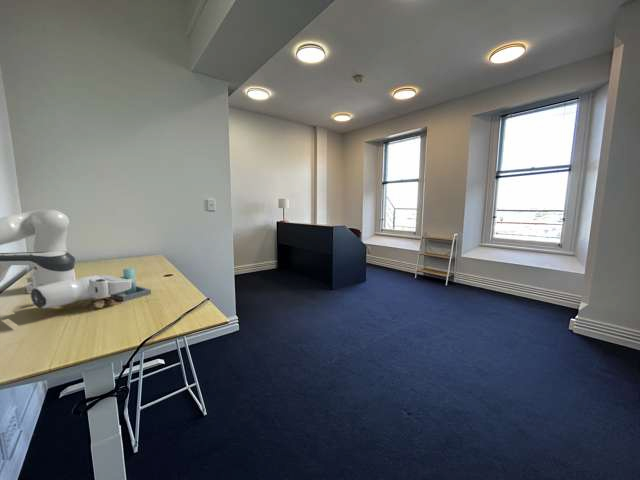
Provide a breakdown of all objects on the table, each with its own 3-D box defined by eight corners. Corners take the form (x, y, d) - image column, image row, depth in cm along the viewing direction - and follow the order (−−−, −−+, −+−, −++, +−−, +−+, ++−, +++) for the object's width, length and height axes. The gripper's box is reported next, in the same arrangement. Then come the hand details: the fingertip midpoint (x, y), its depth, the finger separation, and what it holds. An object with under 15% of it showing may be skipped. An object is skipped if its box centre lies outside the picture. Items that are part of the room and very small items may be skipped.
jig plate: (79, 306, 105) (79, 301, 104) (106, 299, 112) (105, 295, 112) (95, 313, 98) (95, 308, 98) (122, 305, 106) (122, 300, 106)
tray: (110, 299, 113) (110, 292, 112) (138, 292, 122) (137, 285, 122) (123, 304, 107) (123, 296, 107) (151, 296, 117) (150, 289, 117)
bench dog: (93, 308, 100) (92, 302, 99) (102, 306, 102) (102, 300, 102) (97, 310, 98) (96, 303, 98) (106, 307, 101) (105, 301, 101)
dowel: (123, 294, 114) (121, 269, 112) (133, 291, 117) (131, 267, 116) (128, 295, 112) (126, 270, 110) (138, 293, 115) (136, 269, 114)
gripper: (82, 290, 108) (120, 282, 120) (106, 298, 98) (144, 288, 110) (80, 275, 107) (119, 268, 119) (104, 282, 97) (143, 274, 109)
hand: (131, 278), depth 114 cm, fingers closed on dowel, 4 cm apart
